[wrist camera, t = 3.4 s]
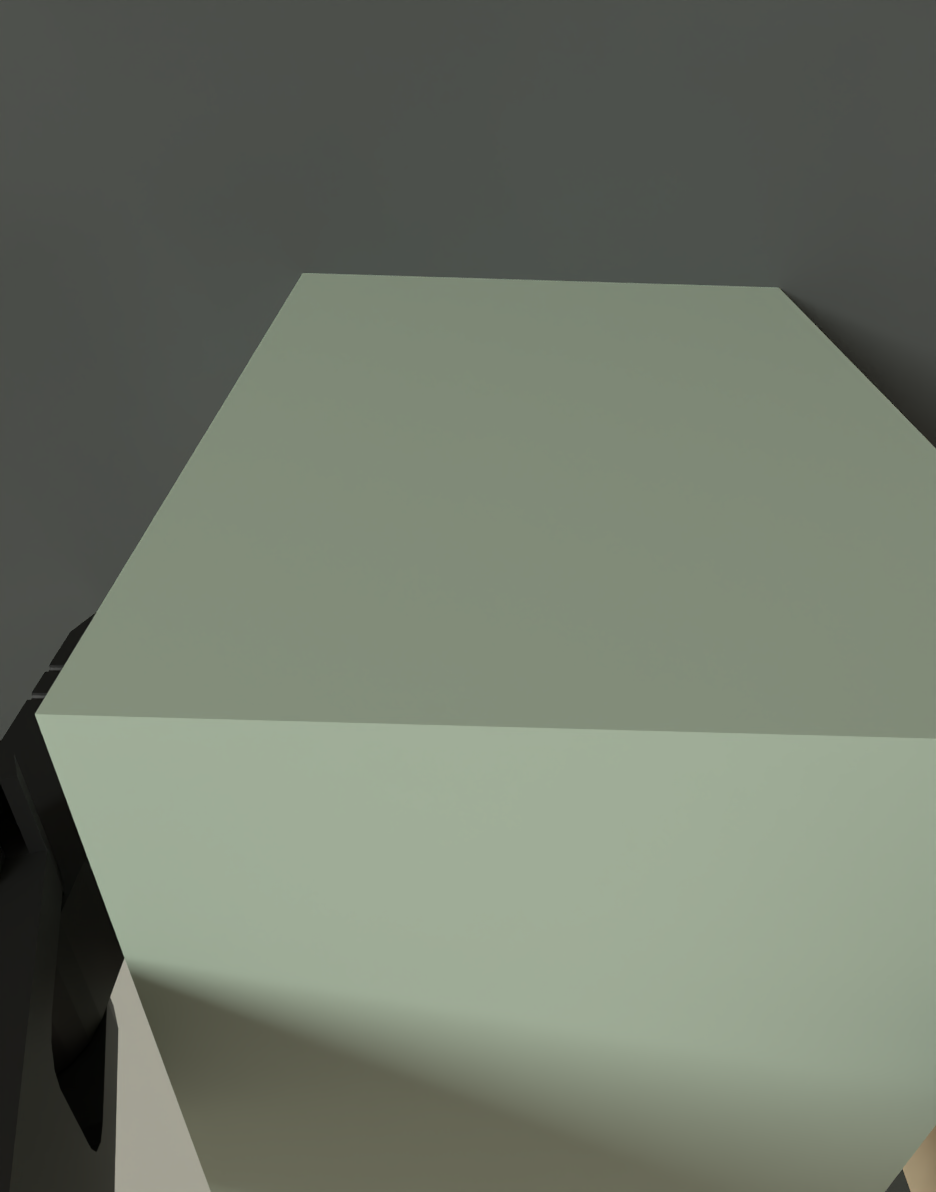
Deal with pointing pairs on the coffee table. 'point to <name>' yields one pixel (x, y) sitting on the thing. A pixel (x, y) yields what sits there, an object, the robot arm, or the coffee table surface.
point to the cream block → (148, 1108)
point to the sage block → (528, 750)
